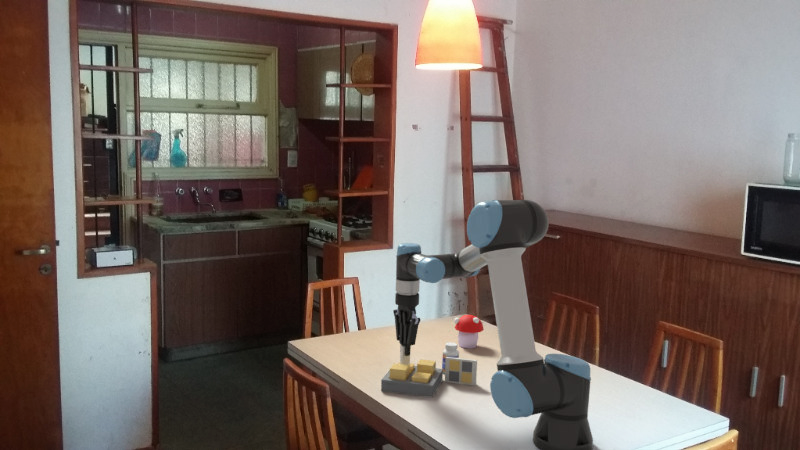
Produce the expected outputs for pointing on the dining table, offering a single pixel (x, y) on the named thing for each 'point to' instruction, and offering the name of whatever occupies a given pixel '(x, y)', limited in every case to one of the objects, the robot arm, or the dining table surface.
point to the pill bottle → (449, 353)
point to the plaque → (460, 370)
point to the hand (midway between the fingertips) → (404, 364)
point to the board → (412, 384)
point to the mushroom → (468, 330)
